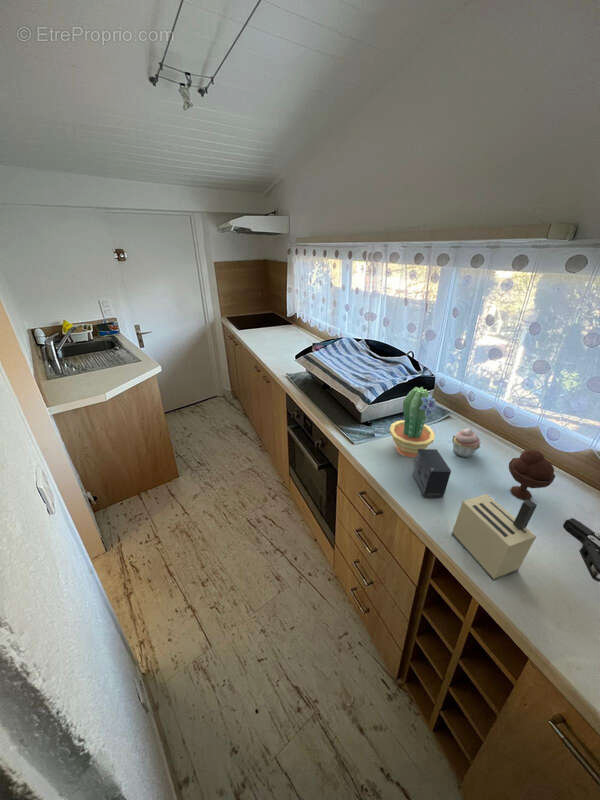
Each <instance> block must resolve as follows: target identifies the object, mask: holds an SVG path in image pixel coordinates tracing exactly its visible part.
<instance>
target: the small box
mask: <svg viewBox="0 0 600 800" xmlns="http://www.w3.org/2000/svg"><path fill="white" fill-rule="evenodd" d="M415 458H416V459H415V462H414V467H413V471H412V474H411V475H412V477H413V479H414V481H415V484H416V486H417V487H418V489H419V491H420V493H421V496H422V498H424V499H431V498H433V499H434V498H435V499H439V498H440V499H441V498H444V496H445V493H446V490H447V486H448V483H449V480H450V476H451V473H452V470H451V468H450V467H449V465H448V464H447V462H446V461H445V459H444V458H443V457H442V455H441V453H440V452H439V451H438V449H437V448H426V449H418V453H417V457H415Z"/></svg>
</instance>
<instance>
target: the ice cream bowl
mask: <svg viewBox="0 0 600 800" xmlns="http://www.w3.org/2000/svg"><path fill="white" fill-rule="evenodd" d="M508 471H509V473H510V475H511V477H512V478H513V479H514V481H515V482H517V483H518V484H520V486H519V485H515V486H514V485H513V486H512V487H510V489H509V491H510V493H511V495H512V496H514V497H515V498H517V499H519V500H521V501H528V500H532V498H533V494H532V493H531V491H530V490H528V488H530V489H541V488H548V487H549V486H550V485H551V484H552V483H553V482H554V481H555V478H556V474H555V468H554V465H553V463H551V462H550V461H549V460H547V459H546V458H545V456H544V454H543V453H542V452H541V451H540V450H538V449H534V448H528V449H524V450H523V451H522V452H521V454H520V455H519V457H513V458H512V459H511V460H510V461H509V463H508Z"/></svg>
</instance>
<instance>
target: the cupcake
mask: <svg viewBox="0 0 600 800" xmlns="http://www.w3.org/2000/svg"><path fill="white" fill-rule="evenodd" d="M451 441H452V450H453V452H454V454H455V455H457V456H459V457H461V458H471V457H472V456H473V455H474V454H475V453H476V451H477V450H479V449H480V448H481V440H480V438H479V436H478V434H476V432H474V431H473V430H472V428H464V429H462V430H459V431H457V433H456V434H455V435H452V439H451Z"/></svg>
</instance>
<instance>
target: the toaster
mask: <svg viewBox="0 0 600 800" xmlns="http://www.w3.org/2000/svg"><path fill="white" fill-rule="evenodd" d="M515 519H516V517H514V516H513V515H512V514H511V513H510V512H508V511H507V510H506V509H505V508H504V507H503V506H501V505H500V504H499V503H498V502H497V501H496V500H495V499H493V498H492V497H491V496H490V495H489V494H488V493H485V494H482V495H478V496H475V497H472V498H468V499H465V500H462V502H461V505H460V508H459V511H458V514H457V518H456V520H455V523H454V526H453V529H452V532H451V535H452V536H453V537H454V539H455V540H456V541H457V542H458V543H459V544H460V545H461V546H462V547H463V548H464V550H465V551H466V552H467V553H468V554H469V555H470V557H472V559H473V560H474V561H475V562H476V563H477V565H479V566H480V567H481V569H482V570H483V571H484V572H485V574H487V576H489V578H490V579H491V580H492V581H495V580H498V579H501V578H503V577H505V576H506V577H507V576H509V575H511V574H513V573H515V572H518V571H519V570H520V567H521V566H522V564H523V562H524V560H525V558H526V557H527V555H528V553H529V551H530V550H531V547H532V546H533V544H534V541H535V540H536V538H537V535H535V534H534V532H532V531H531V530H530V529H528V528H527V527H526V528H524V529H521V530H519V529H518V528H516V527H515V526H514V525H513V523H514V521H515Z"/></svg>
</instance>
